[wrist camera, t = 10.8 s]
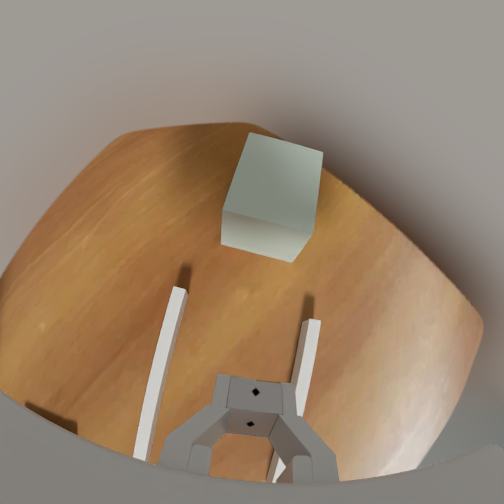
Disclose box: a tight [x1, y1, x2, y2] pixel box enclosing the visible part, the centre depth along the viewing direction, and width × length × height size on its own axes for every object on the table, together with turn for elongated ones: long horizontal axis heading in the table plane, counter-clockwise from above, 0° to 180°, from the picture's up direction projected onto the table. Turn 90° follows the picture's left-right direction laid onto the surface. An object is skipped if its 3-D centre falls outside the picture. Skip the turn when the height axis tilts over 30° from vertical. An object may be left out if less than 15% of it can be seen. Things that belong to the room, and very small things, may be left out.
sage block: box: [221, 132, 323, 263], centre depth 29 cm, size 8×10×8 cm
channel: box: [133, 286, 321, 483], centre depth 21 cm, size 16×30×2 cm, turn 168°
